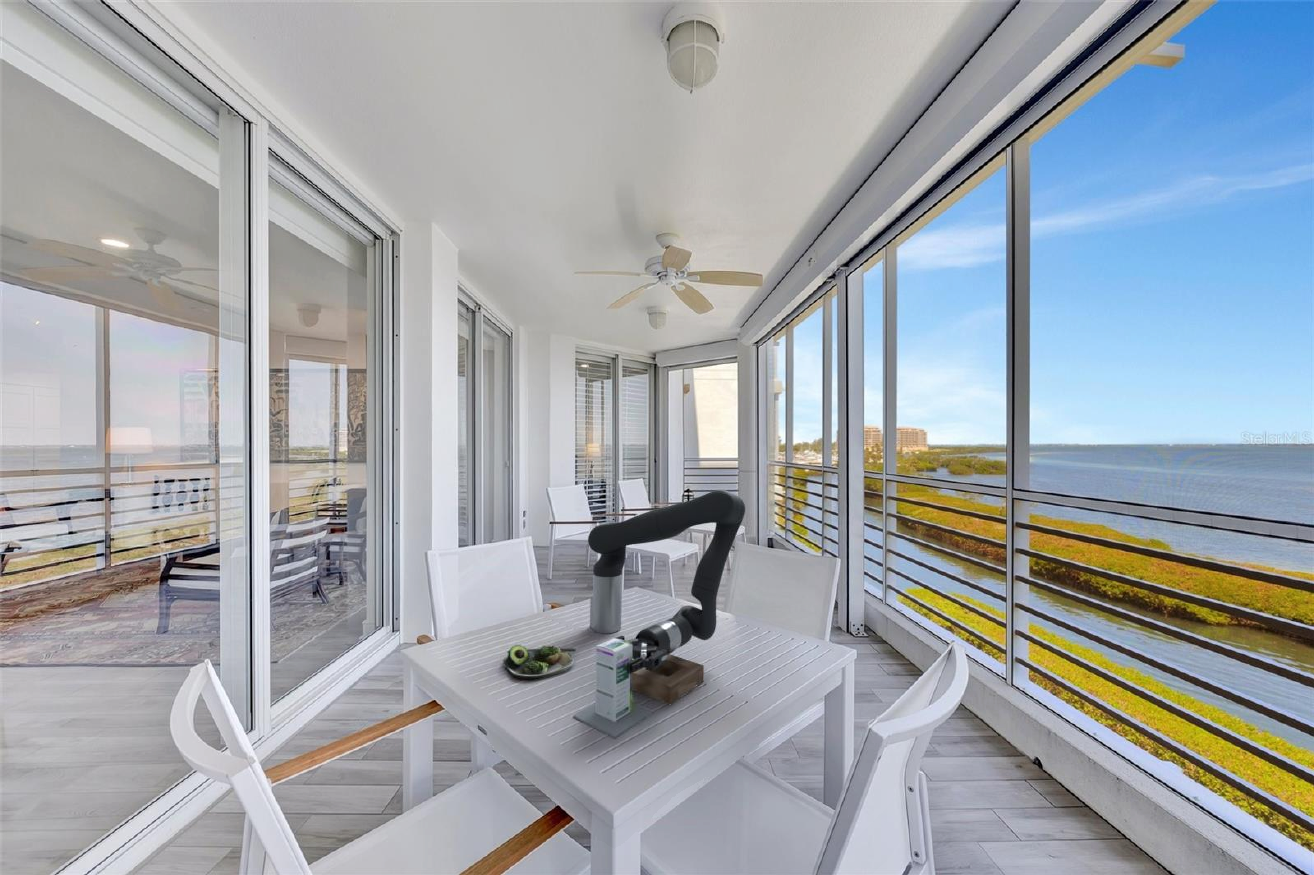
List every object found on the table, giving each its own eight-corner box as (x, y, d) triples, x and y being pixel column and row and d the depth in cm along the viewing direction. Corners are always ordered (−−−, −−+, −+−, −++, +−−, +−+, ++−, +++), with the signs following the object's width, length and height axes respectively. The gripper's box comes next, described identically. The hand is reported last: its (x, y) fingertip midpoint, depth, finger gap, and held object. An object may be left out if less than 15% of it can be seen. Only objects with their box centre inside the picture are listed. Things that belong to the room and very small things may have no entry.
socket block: (622, 685, 115) (623, 668, 115) (658, 665, 126) (658, 650, 126) (670, 705, 107) (670, 686, 107) (703, 682, 118) (703, 665, 118)
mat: (573, 717, 101) (573, 715, 101) (611, 695, 110) (611, 693, 110) (615, 738, 94) (615, 736, 94) (652, 713, 103) (652, 711, 103)
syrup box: (614, 723, 98) (616, 651, 99) (594, 713, 102) (595, 644, 102) (632, 711, 103) (633, 643, 103) (612, 702, 106) (613, 636, 107)
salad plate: (564, 645, 139) (564, 629, 140) (590, 669, 124) (591, 651, 125) (496, 659, 129) (497, 642, 129) (516, 687, 114) (517, 668, 114)
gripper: (636, 618, 120) (589, 637, 107) (683, 632, 111) (638, 654, 98) (636, 648, 119) (589, 671, 107) (683, 664, 111) (638, 691, 98)
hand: (613, 663), depth 102 cm, fingers open, 8 cm apart
